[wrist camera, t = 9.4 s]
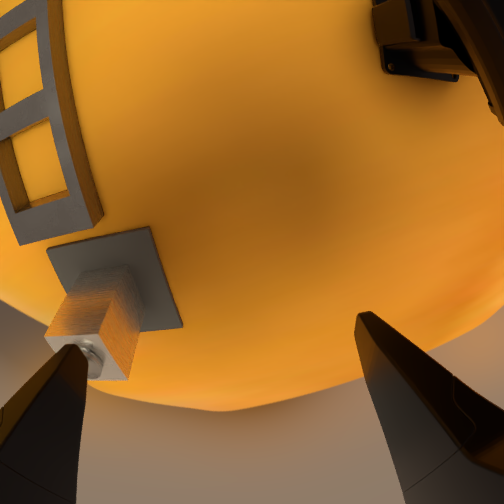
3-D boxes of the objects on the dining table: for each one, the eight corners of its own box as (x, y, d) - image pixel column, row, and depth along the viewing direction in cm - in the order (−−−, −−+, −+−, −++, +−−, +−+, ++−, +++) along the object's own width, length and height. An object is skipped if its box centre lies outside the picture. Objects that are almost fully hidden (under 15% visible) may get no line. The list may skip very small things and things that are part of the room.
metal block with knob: (127, 264, 20) (95, 341, 14) (146, 308, 22) (126, 387, 16) (81, 271, 20) (40, 343, 14) (101, 313, 22) (73, 386, 16)
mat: (149, 226, 19) (148, 228, 19) (183, 324, 24) (182, 327, 24) (48, 247, 19) (45, 250, 19) (91, 332, 24) (90, 335, 24)
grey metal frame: (63, -76, 6) (52, -85, 5) (104, 214, 19) (93, 227, 17) (-8, -31, 6) (-22, -35, 5) (32, 233, 19) (19, 245, 17)
